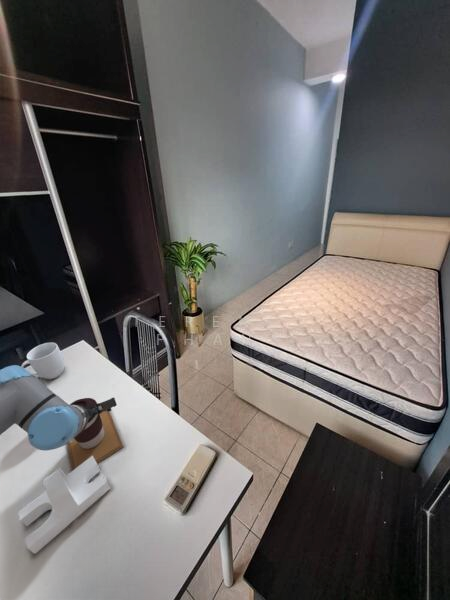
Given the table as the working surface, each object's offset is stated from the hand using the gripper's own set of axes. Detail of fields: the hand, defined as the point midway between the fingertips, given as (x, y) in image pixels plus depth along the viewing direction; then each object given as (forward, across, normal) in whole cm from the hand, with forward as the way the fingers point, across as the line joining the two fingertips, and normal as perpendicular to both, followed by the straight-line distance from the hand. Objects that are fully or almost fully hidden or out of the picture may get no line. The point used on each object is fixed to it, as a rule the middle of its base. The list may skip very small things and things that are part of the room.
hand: (83, 416), depth 77 cm
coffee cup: (+5, 0, -8) cm, 9 cm away
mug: (+36, -12, +22) cm, 44 cm away
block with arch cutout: (-6, -8, -19) cm, 21 cm away
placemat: (+6, 0, -8) cm, 10 cm away
